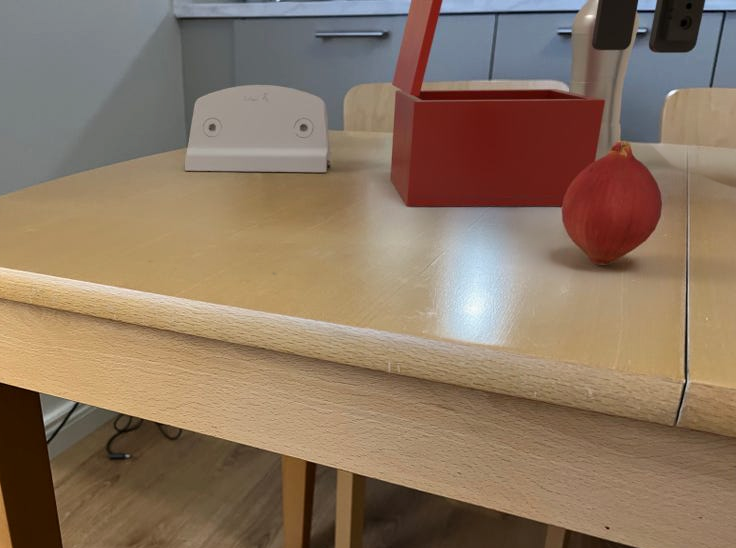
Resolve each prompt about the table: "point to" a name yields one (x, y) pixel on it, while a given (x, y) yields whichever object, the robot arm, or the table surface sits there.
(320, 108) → the white curved plastic bracket
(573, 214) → the onion
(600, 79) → the silver metal bottle
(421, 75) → the box door
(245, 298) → the table surface
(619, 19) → the robot arm
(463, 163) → the open red box
